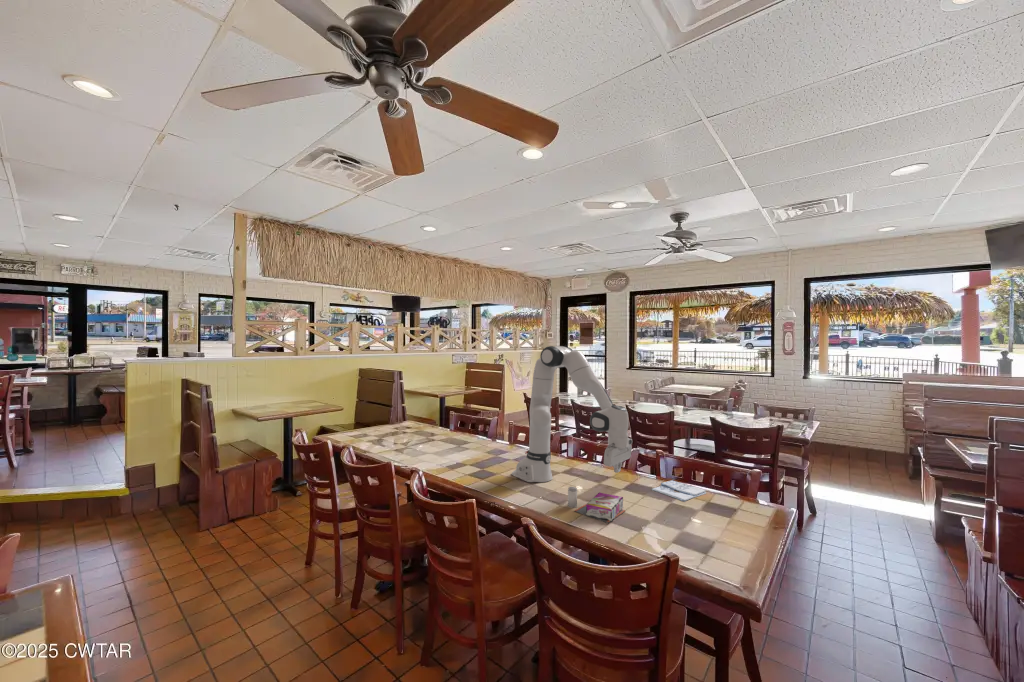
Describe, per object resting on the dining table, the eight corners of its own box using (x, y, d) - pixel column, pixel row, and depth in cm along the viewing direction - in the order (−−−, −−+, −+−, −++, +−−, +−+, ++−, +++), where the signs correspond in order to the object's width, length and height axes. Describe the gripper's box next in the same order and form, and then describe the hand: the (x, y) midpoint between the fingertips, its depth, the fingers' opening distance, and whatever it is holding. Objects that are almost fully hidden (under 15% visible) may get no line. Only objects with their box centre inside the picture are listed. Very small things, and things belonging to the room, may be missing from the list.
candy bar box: (623, 496, 176) (612, 509, 162) (623, 507, 176) (612, 521, 162) (598, 491, 182) (585, 503, 168) (598, 502, 182) (585, 515, 168)
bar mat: (574, 511, 173) (574, 510, 173) (592, 501, 184) (592, 500, 184) (608, 523, 162) (608, 521, 162) (625, 511, 173) (625, 510, 173)
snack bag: (707, 494, 196) (707, 490, 196) (683, 503, 185) (683, 498, 185) (672, 482, 212) (672, 478, 212) (648, 490, 201) (648, 486, 201)
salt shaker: (565, 505, 178) (566, 488, 178) (570, 503, 181) (571, 485, 181) (573, 508, 176) (573, 490, 176) (578, 505, 179) (578, 488, 179)
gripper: (613, 447, 175) (612, 479, 175) (634, 439, 190) (633, 468, 190) (600, 444, 179) (599, 475, 179) (621, 436, 195) (621, 465, 195)
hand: (617, 471), depth 185 cm, fingers closed
